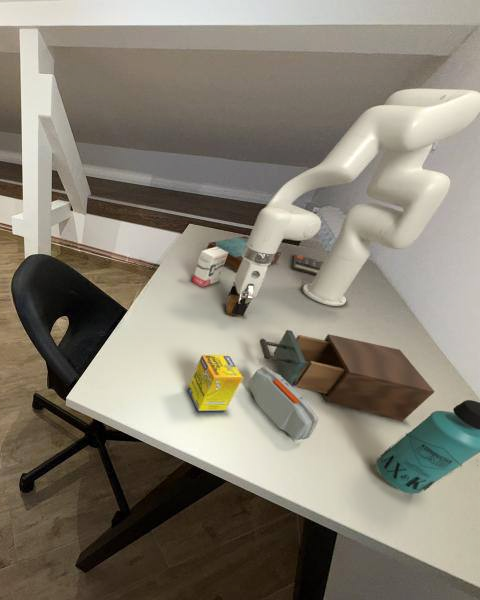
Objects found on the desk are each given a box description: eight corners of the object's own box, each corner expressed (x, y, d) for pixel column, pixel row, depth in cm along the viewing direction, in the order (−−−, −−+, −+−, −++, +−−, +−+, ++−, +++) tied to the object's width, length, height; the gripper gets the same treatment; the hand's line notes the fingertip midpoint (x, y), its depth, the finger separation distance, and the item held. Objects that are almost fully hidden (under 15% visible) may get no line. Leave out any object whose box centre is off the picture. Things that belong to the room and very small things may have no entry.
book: (238, 273, 117) (243, 261, 114) (204, 253, 130) (207, 242, 127) (276, 263, 126) (281, 252, 124) (240, 246, 139) (244, 235, 136)
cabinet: (325, 402, 68) (350, 371, 63) (308, 362, 78) (328, 334, 73) (402, 421, 65) (435, 391, 60) (374, 378, 76) (399, 349, 70)
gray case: (305, 443, 59) (327, 418, 55) (293, 447, 59) (314, 421, 54) (251, 385, 71) (266, 360, 66) (241, 387, 70) (255, 362, 65)
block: (225, 305, 98) (230, 294, 95) (240, 308, 97) (245, 297, 94) (226, 313, 94) (231, 301, 92) (242, 316, 93) (247, 305, 91)
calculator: (326, 262, 129) (327, 276, 118) (325, 264, 129) (326, 278, 119) (295, 253, 134) (293, 266, 123) (294, 255, 134) (292, 268, 123)
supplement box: (186, 390, 68) (201, 354, 62) (212, 389, 69) (229, 354, 63) (197, 413, 63) (213, 377, 57) (224, 413, 64) (244, 376, 58)
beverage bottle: (367, 454, 58) (446, 383, 47) (413, 476, 56) (508, 406, 44) (370, 483, 54) (458, 412, 43) (420, 509, 51) (528, 440, 40)
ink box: (202, 287, 106) (213, 256, 99) (191, 281, 109) (200, 250, 103) (218, 282, 110) (229, 251, 103) (206, 275, 113) (216, 246, 107)
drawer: (257, 379, 71) (272, 355, 67) (250, 347, 80) (262, 324, 76) (351, 403, 67) (373, 379, 63) (332, 367, 76) (349, 343, 72)
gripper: (280, 271, 77) (253, 325, 86) (266, 245, 91) (244, 294, 100) (248, 265, 78) (224, 318, 88) (239, 240, 92) (220, 289, 102)
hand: (235, 305), depth 94 cm, fingers open, 9 cm apart
